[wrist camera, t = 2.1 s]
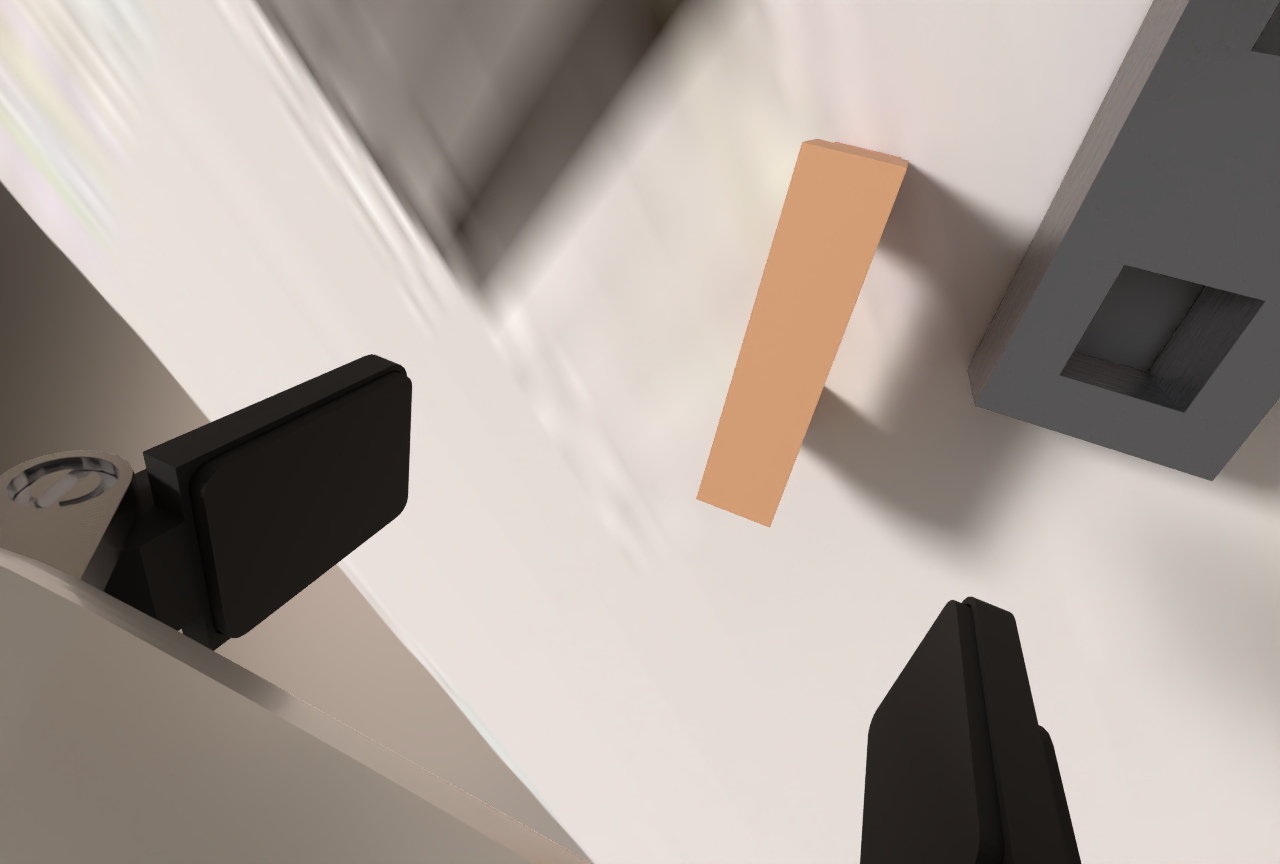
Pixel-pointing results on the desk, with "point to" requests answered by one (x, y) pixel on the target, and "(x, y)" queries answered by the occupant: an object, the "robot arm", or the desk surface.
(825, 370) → the tan block
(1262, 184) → the dark gray slotted block
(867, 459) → the desk surface
